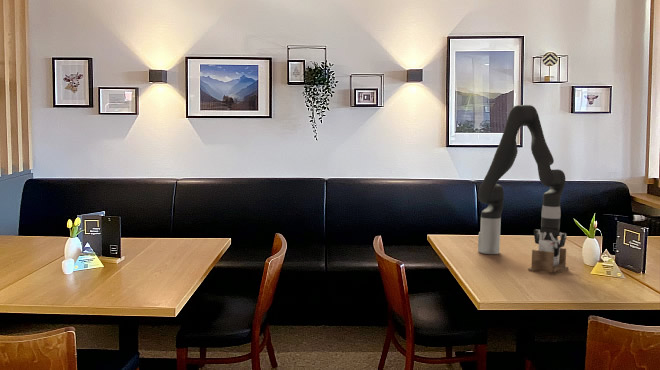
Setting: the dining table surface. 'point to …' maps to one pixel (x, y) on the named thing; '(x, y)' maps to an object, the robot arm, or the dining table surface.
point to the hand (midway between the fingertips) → (548, 255)
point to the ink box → (548, 248)
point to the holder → (548, 262)
